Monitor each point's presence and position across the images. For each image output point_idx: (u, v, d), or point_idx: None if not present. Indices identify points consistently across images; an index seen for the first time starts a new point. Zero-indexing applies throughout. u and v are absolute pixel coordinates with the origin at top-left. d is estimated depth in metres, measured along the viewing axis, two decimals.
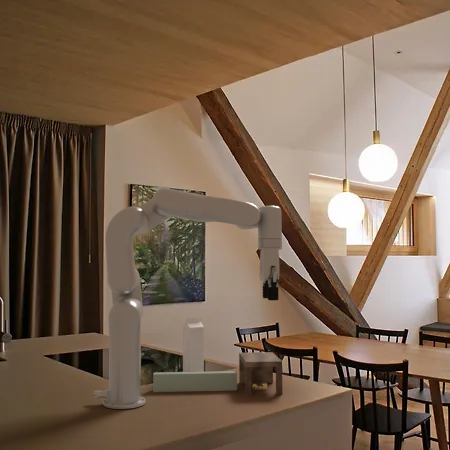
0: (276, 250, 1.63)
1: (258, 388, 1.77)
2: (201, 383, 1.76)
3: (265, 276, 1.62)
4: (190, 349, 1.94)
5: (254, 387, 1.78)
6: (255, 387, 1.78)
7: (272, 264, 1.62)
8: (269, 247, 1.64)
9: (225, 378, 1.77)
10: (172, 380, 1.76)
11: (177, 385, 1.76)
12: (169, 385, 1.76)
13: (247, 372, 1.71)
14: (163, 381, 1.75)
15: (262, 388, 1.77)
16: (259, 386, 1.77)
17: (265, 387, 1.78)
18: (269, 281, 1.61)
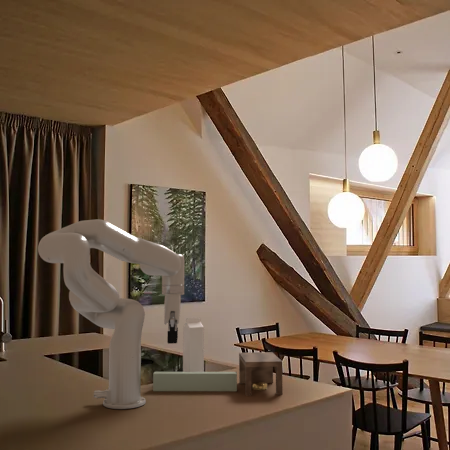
0: (176, 296, 1.75)
1: (258, 388, 1.77)
2: (201, 384, 1.76)
3: (165, 321, 1.73)
4: (190, 349, 1.94)
5: (254, 387, 1.78)
6: (255, 387, 1.78)
7: (172, 310, 1.74)
8: (170, 293, 1.75)
9: (224, 378, 1.76)
10: (171, 379, 1.76)
11: (177, 385, 1.76)
12: (169, 384, 1.76)
13: (247, 372, 1.71)
14: (163, 380, 1.76)
15: (262, 388, 1.77)
16: (259, 386, 1.77)
17: (265, 387, 1.78)
18: (168, 325, 1.73)
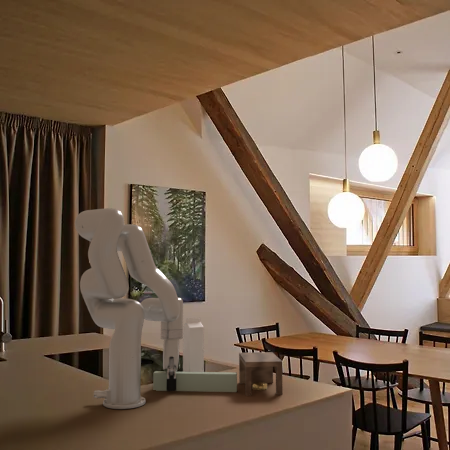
0: (175, 341, 1.74)
1: (258, 388, 1.77)
2: (200, 384, 1.76)
3: (164, 366, 1.73)
4: (190, 349, 1.94)
5: (254, 387, 1.78)
6: (255, 387, 1.78)
7: (170, 355, 1.73)
8: (169, 338, 1.75)
9: (224, 379, 1.75)
10: None
11: (177, 385, 1.76)
12: None
13: (247, 372, 1.71)
14: (163, 380, 1.77)
15: (262, 388, 1.77)
16: (259, 386, 1.77)
17: (265, 387, 1.78)
18: (167, 373, 1.73)
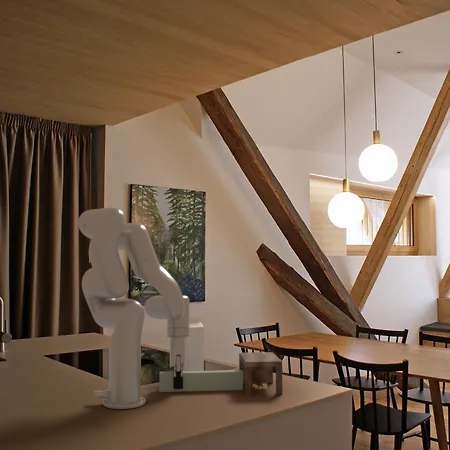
0: (182, 339, 1.74)
1: (258, 388, 1.77)
2: (207, 382, 1.77)
3: (171, 364, 1.73)
4: (190, 349, 1.94)
5: (254, 387, 1.78)
6: (255, 387, 1.78)
7: (177, 353, 1.73)
8: (175, 336, 1.75)
9: (231, 377, 1.78)
10: None
11: (184, 384, 1.76)
12: None
13: (247, 372, 1.71)
14: (169, 380, 1.76)
15: (262, 388, 1.77)
16: (259, 386, 1.77)
17: (265, 387, 1.78)
18: (174, 372, 1.74)
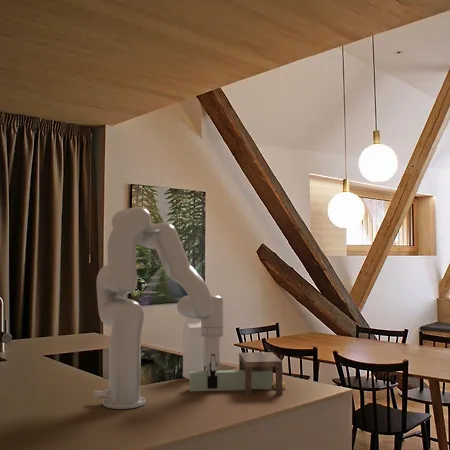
0: (216, 339, 1.75)
1: None
2: (237, 382, 1.78)
3: (206, 364, 1.74)
4: (190, 349, 1.94)
5: (273, 386, 1.79)
6: (274, 386, 1.78)
7: (212, 353, 1.74)
8: (210, 336, 1.76)
9: (260, 376, 1.79)
10: None
11: None
12: (205, 383, 1.77)
13: (247, 372, 1.71)
14: (199, 380, 1.76)
15: None
16: None
17: (284, 386, 1.79)
18: (209, 371, 1.75)
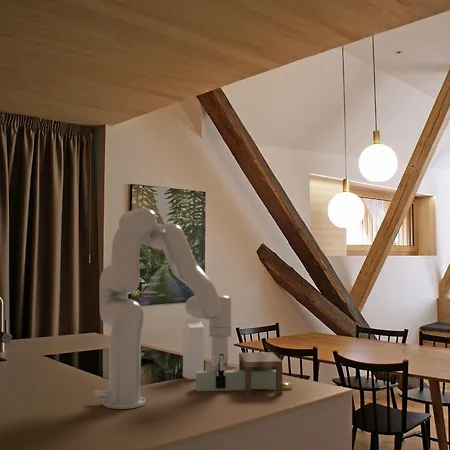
0: (225, 339, 1.76)
1: (284, 387, 1.78)
2: (243, 382, 1.78)
3: (214, 364, 1.74)
4: (190, 349, 1.94)
5: None
6: None
7: (220, 353, 1.74)
8: (218, 336, 1.76)
9: (267, 376, 1.79)
10: (214, 378, 1.77)
11: None
12: (212, 383, 1.77)
13: (247, 372, 1.71)
14: (206, 380, 1.77)
15: (288, 387, 1.78)
16: (285, 385, 1.78)
17: (291, 386, 1.79)
18: (217, 371, 1.76)
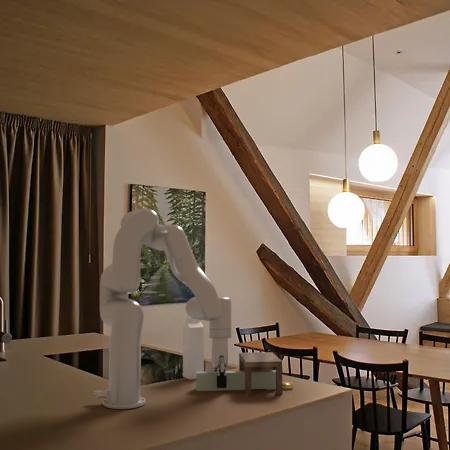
0: (225, 340, 1.76)
1: (285, 387, 1.78)
2: (244, 382, 1.78)
3: (214, 365, 1.74)
4: (190, 349, 1.94)
5: None
6: None
7: (221, 354, 1.74)
8: (218, 337, 1.76)
9: (267, 377, 1.79)
10: (215, 379, 1.77)
11: None
12: (212, 384, 1.77)
13: (247, 372, 1.71)
14: (206, 380, 1.77)
15: (289, 387, 1.78)
16: (286, 385, 1.78)
17: (291, 386, 1.79)
18: (218, 370, 1.73)
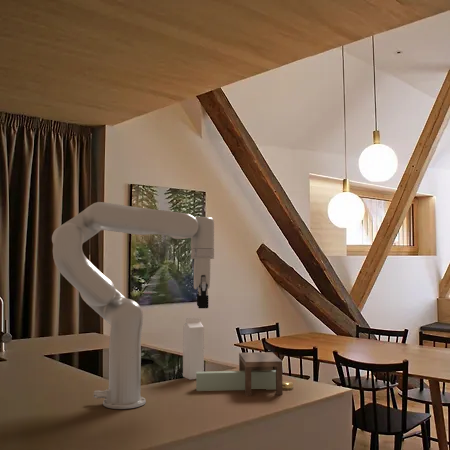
0: (207, 260, 1.69)
1: (285, 387, 1.78)
2: (244, 382, 1.78)
3: (196, 285, 1.67)
4: (190, 349, 1.94)
5: None
6: None
7: (202, 274, 1.68)
8: (200, 257, 1.69)
9: (267, 377, 1.79)
10: (215, 379, 1.77)
11: (220, 384, 1.77)
12: (212, 384, 1.77)
13: (247, 372, 1.71)
14: (206, 380, 1.77)
15: (289, 387, 1.78)
16: (286, 385, 1.78)
17: (291, 386, 1.79)
18: (199, 290, 1.67)
